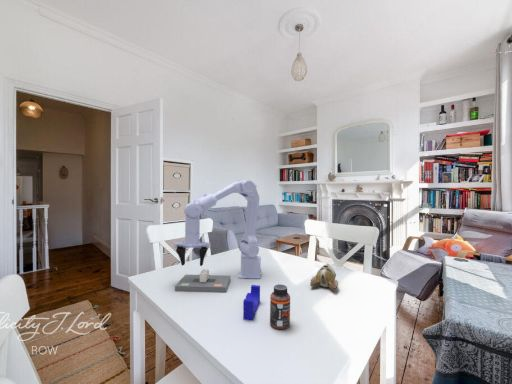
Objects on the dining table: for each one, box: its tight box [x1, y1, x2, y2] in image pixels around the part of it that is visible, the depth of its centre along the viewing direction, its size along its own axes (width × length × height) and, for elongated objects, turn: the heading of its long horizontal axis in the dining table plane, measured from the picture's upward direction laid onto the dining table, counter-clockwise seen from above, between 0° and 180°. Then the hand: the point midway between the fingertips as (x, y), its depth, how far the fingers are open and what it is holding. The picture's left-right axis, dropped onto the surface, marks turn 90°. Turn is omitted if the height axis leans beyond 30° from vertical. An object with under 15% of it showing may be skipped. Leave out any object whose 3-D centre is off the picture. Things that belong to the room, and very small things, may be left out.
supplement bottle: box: [269, 283, 291, 330], centre depth 70 cm, size 6×6×11 cm
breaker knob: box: [199, 268, 210, 282], centre depth 97 cm, size 2×5×4 cm, turn 178°
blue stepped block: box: [242, 284, 261, 321], centre depth 78 cm, size 12×4×6 cm, turn 169°
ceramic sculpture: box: [310, 262, 339, 291], centre depth 98 cm, size 11×9×15 cm
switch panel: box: [174, 274, 231, 293], centre depth 97 cm, size 20×12×2 cm, turn 88°
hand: (192, 264), depth 97 cm, fingers open, 7 cm apart
